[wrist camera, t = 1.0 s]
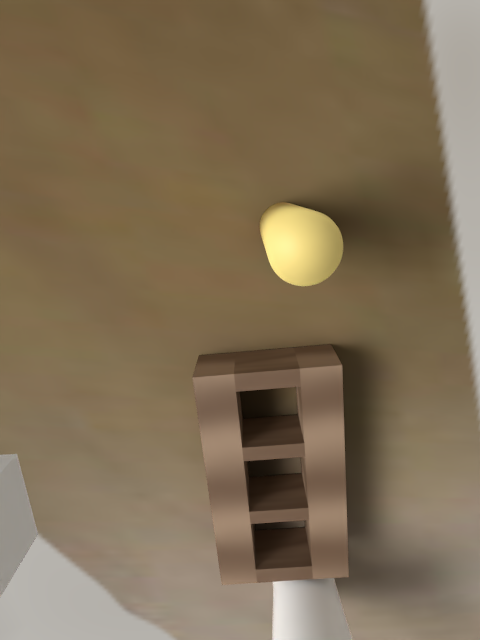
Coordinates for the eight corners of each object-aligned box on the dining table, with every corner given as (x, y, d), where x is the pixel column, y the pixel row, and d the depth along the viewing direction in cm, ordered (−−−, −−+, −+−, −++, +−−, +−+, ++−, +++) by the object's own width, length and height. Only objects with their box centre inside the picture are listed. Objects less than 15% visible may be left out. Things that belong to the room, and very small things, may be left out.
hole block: (199, 355, 32) (192, 377, 29) (330, 344, 32) (342, 365, 28) (224, 544, 38) (221, 584, 34) (338, 537, 37) (348, 576, 33)
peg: (257, 204, 29) (264, 214, 18) (304, 200, 29) (341, 206, 17) (261, 251, 30) (270, 289, 19) (306, 247, 30) (344, 282, 18)
